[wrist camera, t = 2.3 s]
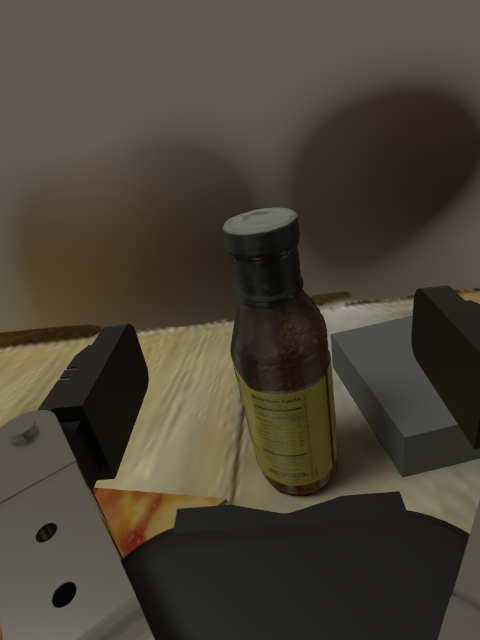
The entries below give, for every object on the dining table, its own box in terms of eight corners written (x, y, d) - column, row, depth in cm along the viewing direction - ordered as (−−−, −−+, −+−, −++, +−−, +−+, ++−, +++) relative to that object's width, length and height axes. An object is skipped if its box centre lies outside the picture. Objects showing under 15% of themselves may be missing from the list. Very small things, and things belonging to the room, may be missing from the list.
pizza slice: (141, 856, 16) (126, 846, 15) (-220, 729, 22) (-248, 716, 21) (228, 506, 29) (223, 489, 28) (-11, 485, 35) (-22, 469, 34)
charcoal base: (460, 337, 41) (465, 304, 39) (582, 432, 29) (597, 390, 27) (332, 366, 40) (330, 334, 38) (402, 476, 28) (404, 437, 26)
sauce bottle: (285, 425, 34) (252, 197, 25) (352, 453, 31) (345, 198, 21) (240, 480, 30) (179, 231, 21) (312, 520, 26) (279, 239, 17)
